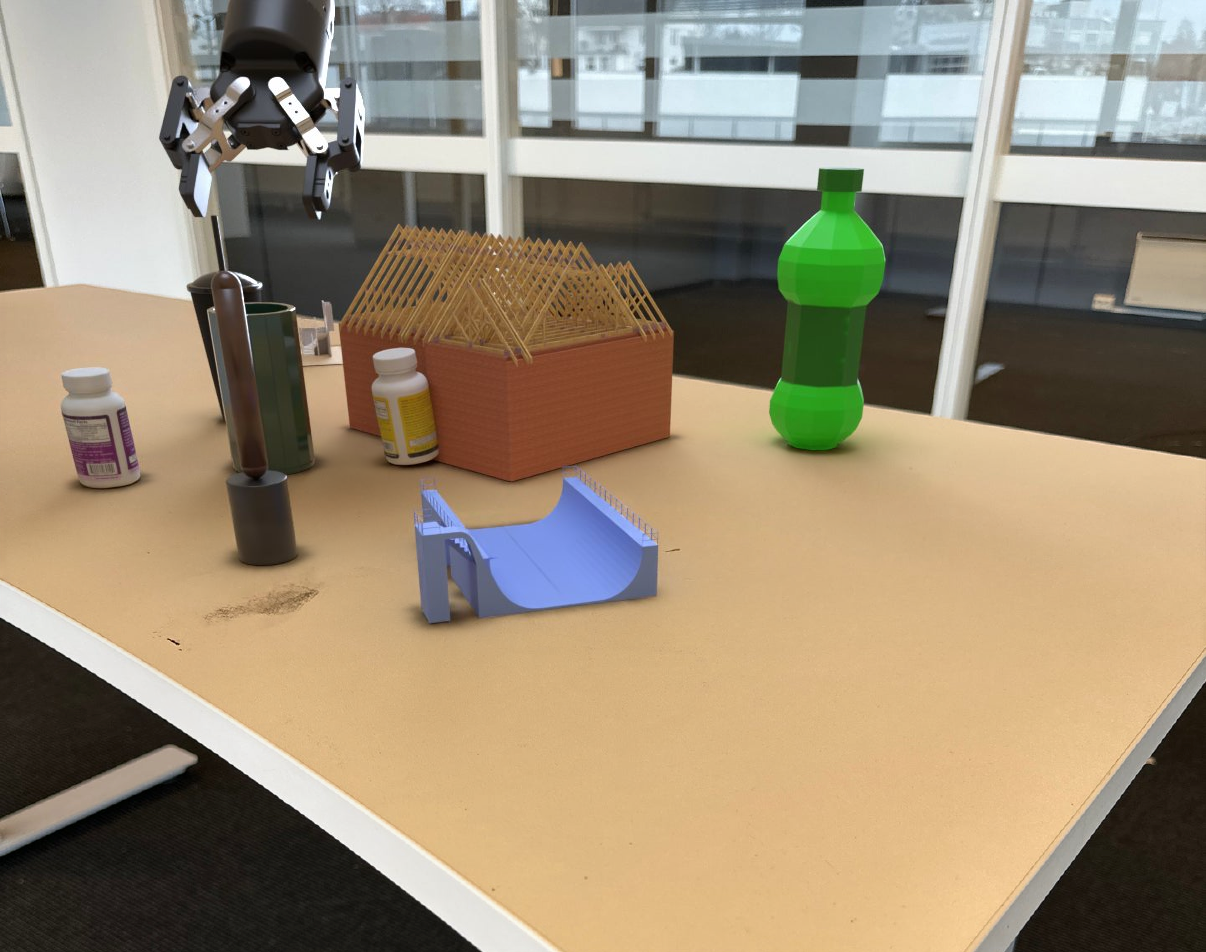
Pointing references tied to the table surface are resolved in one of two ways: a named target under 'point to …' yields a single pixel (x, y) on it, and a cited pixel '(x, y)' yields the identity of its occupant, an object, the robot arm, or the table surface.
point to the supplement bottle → (403, 408)
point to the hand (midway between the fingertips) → (252, 210)
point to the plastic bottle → (826, 316)
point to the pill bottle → (98, 429)
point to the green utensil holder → (273, 386)
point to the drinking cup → (204, 301)
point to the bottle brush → (250, 442)
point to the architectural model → (319, 341)
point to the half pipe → (535, 557)
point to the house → (514, 353)
